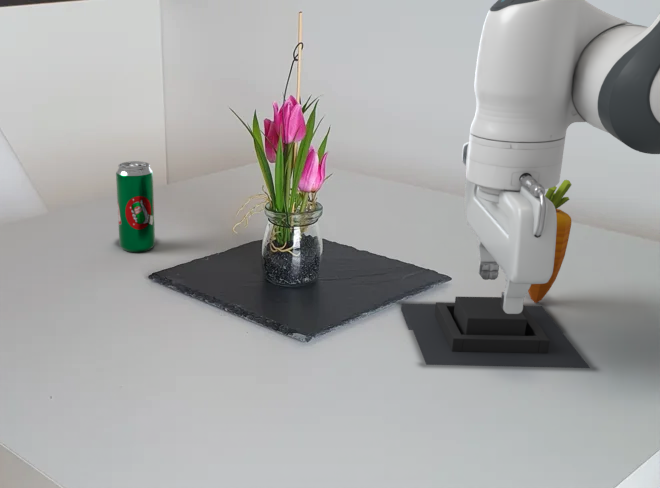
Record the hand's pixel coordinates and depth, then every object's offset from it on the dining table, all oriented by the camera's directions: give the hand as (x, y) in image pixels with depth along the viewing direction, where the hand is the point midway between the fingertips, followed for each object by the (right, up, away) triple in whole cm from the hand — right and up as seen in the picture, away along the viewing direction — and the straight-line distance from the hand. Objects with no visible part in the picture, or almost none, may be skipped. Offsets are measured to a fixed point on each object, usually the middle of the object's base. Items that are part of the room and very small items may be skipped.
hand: (498, 293), depth 88 cm
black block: (-1, -4, +2) cm, 5 cm away
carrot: (+8, -1, +12) cm, 14 cm away
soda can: (-41, +7, +31) cm, 52 cm away
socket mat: (-1, -5, +2) cm, 5 cm away
